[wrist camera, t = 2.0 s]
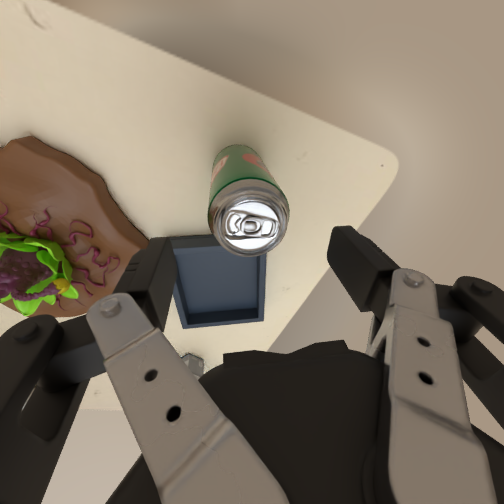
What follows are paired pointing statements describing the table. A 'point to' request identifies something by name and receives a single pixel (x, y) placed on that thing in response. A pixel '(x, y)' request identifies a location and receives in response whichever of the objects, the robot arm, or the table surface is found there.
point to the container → (216, 283)
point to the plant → (58, 233)
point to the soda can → (246, 203)
